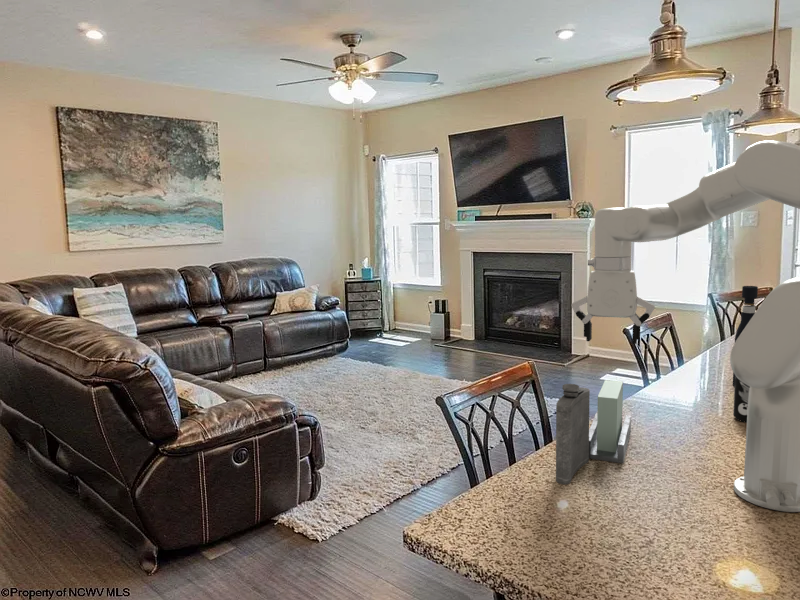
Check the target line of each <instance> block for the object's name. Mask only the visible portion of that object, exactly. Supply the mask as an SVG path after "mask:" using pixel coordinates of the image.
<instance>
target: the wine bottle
mask: <svg viewBox="0 0 800 600" xmlns="http://www.w3.org/2000/svg"><path fill="white" fill-rule="evenodd" d="M741 290H742V291H741V298H744V302H743V307H742V310H741V315H740V323H739V325H738V327H737V329H736V332H735V335H734V343H735V342H736V340H737V339H738V337H739V336H740V334H741V333H742V331H743V330H744V328H745V327H746V325H747V324H748V323H749V321H750V320H751V318H752V317H753V315H754V314H755V312H756V306H755V305H756V304H755V299H758V292H759V287H758V286H756V285H743V286H742V288H741ZM735 377H736V375H735V374H734V372H733V371H732V386H733V387H735Z"/></svg>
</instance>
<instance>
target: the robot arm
mask: <svg viewBox="0 0 800 600" xmlns="http://www.w3.org/2000/svg"><path fill="white" fill-rule="evenodd" d="M769 200H771V201H775V202H777V203H781V204H783V205H787V206H790V207H793V208H795V209H798V210H800V145H798V144H796V143H794V142H793V143H792V142H788V141H782V140H773V139H771V140H770V139H769V140H768V139H767V140H762V141H758V142H755V143H753V144H751V145H749V146H748V147H746V148H745V149H744V150H742V152H741V153H740V154H739V155H738V157H737V158H736V161H735V162H733V163H730V164H727V165H725V166H722V167H720V168H719V169H716V170H714V171H711V172H709V173H707V174H705V175H703V176H702V177H701V179H700V180H699V183H698V187H697V188H695V190H693V191H691V192H689V193H688V194H685V195H683V196H681V197H678V198H675V199H673V200H672V201H669V202H666V203H664V204H651V205H649V204H648V205H645V204H644V205H643V204H642V205H633V206H629V207H607V208H600V209H598V210H597V211H596V213H595V215H594V257H593V258H591V259H587V266H589V267H590V266H591V267H592V268H593V269H594V270H591V271H590V274H589V278H588V287H587V296H585V297H582V298H580V299H578V300H575V301H574V302H572V303H571V308H572V310H573V312H574V313H575V315H576V317H577V318H578V319H579V320H580V321H581V322H582V323H583V338H586V342H591V340H592V338H593V337H592V333H593V332H592V330H593V329H592V325H593V323H592V322H591V319H592V318H594V317H598V318H623V319H624V318H629V319H630V320H631V321H632V322H633V325H632V344H633V345H636V344H637V342H638V340H639V341H640V340H641V326H642V324H644V323H645V322H646V321H648V319H649V318H650V317H651V315H652V313H653V311H654V310H655V308H656V307H655V304H653V303H650V302H649V301H647V300H645V299H643V298H641V297H639V296H638V293H637V280H636V273H635V271H634V270H632V242H633V243H650V242H657V241H658V242H659V241H660V242H661V241H668V240H670V239H674V238H676V237H680V236H681V235H684V234H687V233H690V232H692V231H695V230H698V229H700V228H702V227H705V226H707V225H710V224H712V223H713V222H715V221H716V222H717V221H718V220H720V219H722V218H724V217H727V216H730V215H731V214H734V213H737V212H740V211H741V210H744V209H747V208H751V207H752V206H755V205H758V204H761V203H763V202H766V201H769ZM585 304H586V312H587V314H585V313H584V312H583V311H582V310H581V306H582V305H585ZM638 305H639V306H641V307H643V308H645V309H646V310H645V311H644V313H643V314H641V316H639V314H637V311H638V310H637V308H638ZM729 357H730V358H729V363H730V367H731V370H732V373H733V372H734V374H735V375H736V377H737V378H738V379H739V380H740V381H741V382H743V383H744V384H746V385H748V386H750V389H749V397H748V410H747V423H746V430H745V433H746V434H745V449H744V450H745V451H744V452H745V453H744V470H743V476H740V477H738V478H735V480H734V482H733V490H734V492H735V493H736V494H737V496H738V497H740V498H741V499H743V500H744V501H746V502H748V503H751V504H753V505H755V506H759V507H762V508H766V509H769V510H772V511H780V512H785V513H786V512H787V513H800V276H796V277H793V278H790V279H787V280H784V281H783V282H781V283H779V284H778V285H776V286H775V287H774V288H773V289H772V290H771V291H770V292H769V293H768V295H767V296H766V297H765V298H764V300H763V301H762V303H761V304H760V305H759V307H758V308H757V310H755V314H754V315H753V317H752V318H751V320H750V321H749V323H748V324H747V325H746V327H745V328H744V330H743V331H742V333H741V334H740V336H739V337H738V339H737V340H736V342H735V341H734V344H733V346H732V347H731V350H730V356H729Z"/></svg>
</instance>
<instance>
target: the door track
mask: <svg viewBox="0 0 800 600" xmlns="http://www.w3.org/2000/svg"><path fill="white" fill-rule="evenodd" d="M631 432H632V415H630V414H626V415H625V417H624V421H623V423H622V431H621V435H620V438H619V442H618V447H617V451H616V452H609V451H602V450H597V411H596V413H595V415H594V417H593V419H592V423H591V424H590V425H589V460H590V459H591V460H597V461H604V462H611V463H619V464H624V463H625V459H626V454H627V450H628V446H629V440H630V436H631Z"/></svg>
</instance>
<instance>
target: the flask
mask: <svg viewBox="0 0 800 600" xmlns="http://www.w3.org/2000/svg"><path fill="white" fill-rule="evenodd" d="M562 390H563V391H562V393H563V395H562V396H561V397H560V398H559V399H558V400H557V402H556V407H555V408H556V409H555V410H556V411H555V412H556V413H555V415H556V417H555V422H556V423H555V427H556V428H555V482H556V483H558V484H560V485H570V484H571V483H572V480H573V477H574V476H575V474H576V473H577V472H578V471H579V469H581V468H582V467H583V466H584V465H586V464H588V463H589V460H590V458H589V429H590V397H591V395H590V393H591V392H590V389H589V388H587V387H580V386H579V385H578V384H574V383H566V384H565V383H564V384H562Z"/></svg>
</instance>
